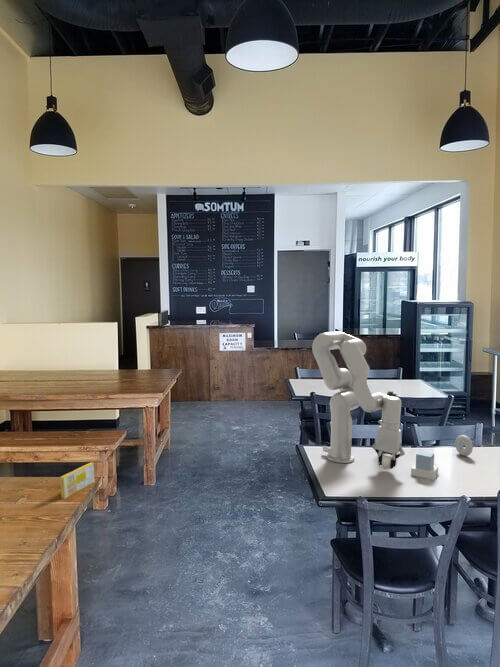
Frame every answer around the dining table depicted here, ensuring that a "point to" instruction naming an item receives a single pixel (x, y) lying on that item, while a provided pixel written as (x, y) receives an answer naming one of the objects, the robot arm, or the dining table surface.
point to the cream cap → (386, 461)
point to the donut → (467, 443)
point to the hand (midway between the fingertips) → (386, 465)
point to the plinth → (424, 472)
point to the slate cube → (425, 460)
